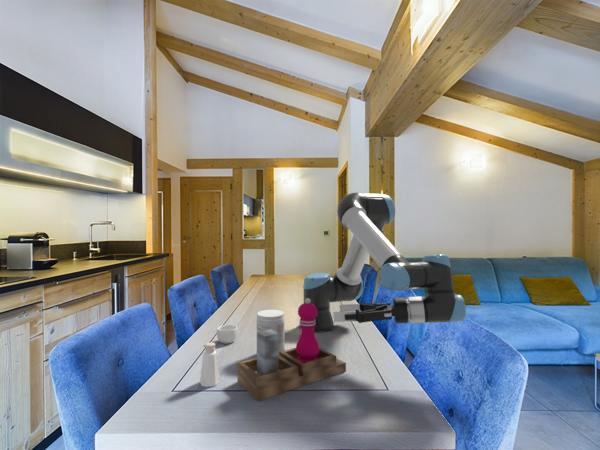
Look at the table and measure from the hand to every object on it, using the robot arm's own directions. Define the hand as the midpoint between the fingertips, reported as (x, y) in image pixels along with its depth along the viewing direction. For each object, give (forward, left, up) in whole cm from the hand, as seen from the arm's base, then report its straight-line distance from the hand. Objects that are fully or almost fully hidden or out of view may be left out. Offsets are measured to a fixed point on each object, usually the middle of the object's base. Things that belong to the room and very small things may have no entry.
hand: (336, 312), depth 102 cm
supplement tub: (+12, -20, -18) cm, 30 cm away
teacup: (+18, -42, -18) cm, 49 cm away
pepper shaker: (+36, -13, -18) cm, 42 cm away
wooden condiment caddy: (+14, -3, -17) cm, 23 cm away
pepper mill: (+9, -3, -15) cm, 18 cm away
